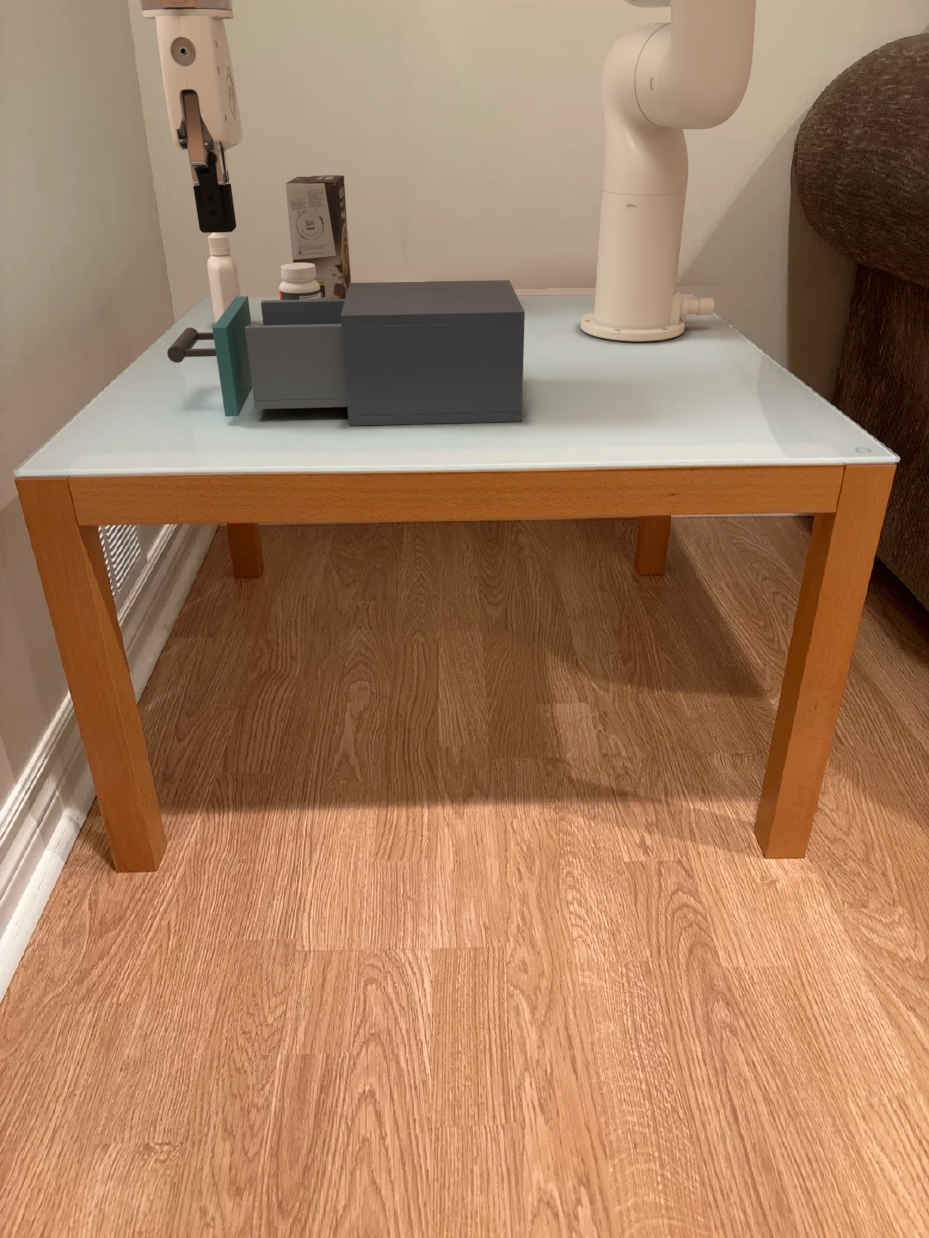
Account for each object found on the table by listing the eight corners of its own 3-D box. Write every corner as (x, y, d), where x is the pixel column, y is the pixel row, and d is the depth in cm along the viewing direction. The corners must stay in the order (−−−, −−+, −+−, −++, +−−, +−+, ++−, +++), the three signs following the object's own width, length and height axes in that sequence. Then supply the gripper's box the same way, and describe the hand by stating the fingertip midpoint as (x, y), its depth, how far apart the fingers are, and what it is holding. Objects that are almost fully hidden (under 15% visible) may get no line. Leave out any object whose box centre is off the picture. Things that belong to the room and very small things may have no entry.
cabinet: (348, 426, 83) (340, 315, 78) (356, 381, 95) (349, 282, 90) (521, 421, 84) (524, 311, 79) (507, 378, 96) (509, 280, 91)
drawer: (169, 418, 83) (153, 328, 79) (197, 377, 93) (184, 297, 89) (386, 412, 83) (382, 324, 79) (389, 373, 94) (385, 293, 90)
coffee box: (346, 318, 119) (336, 181, 111) (296, 318, 119) (283, 181, 111) (354, 303, 127) (345, 174, 119) (307, 303, 127) (296, 174, 119)
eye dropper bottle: (253, 321, 118) (241, 220, 112) (239, 332, 113) (226, 227, 107) (220, 320, 118) (206, 220, 112) (205, 331, 114) (190, 227, 108)
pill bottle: (277, 338, 111) (269, 265, 106) (311, 332, 113) (305, 260, 109) (296, 346, 107) (288, 271, 103) (331, 339, 110) (325, 266, 106)
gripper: (216, -8, 71) (248, 243, 81) (243, 3, 84) (267, 219, 94) (118, -7, 71) (161, 245, 81) (160, 4, 84) (193, 221, 93)
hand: (218, 230), depth 87 cm, fingers closed
